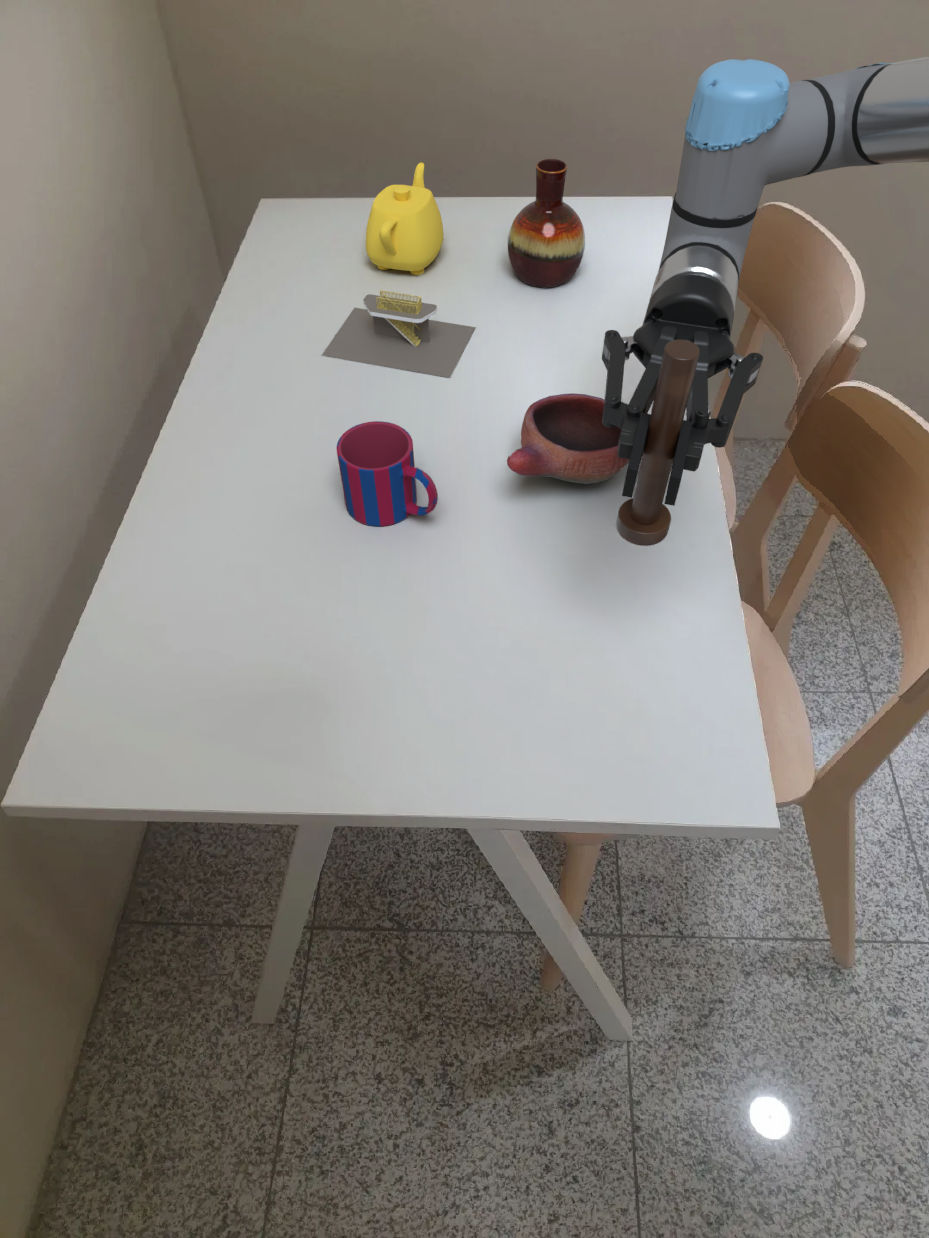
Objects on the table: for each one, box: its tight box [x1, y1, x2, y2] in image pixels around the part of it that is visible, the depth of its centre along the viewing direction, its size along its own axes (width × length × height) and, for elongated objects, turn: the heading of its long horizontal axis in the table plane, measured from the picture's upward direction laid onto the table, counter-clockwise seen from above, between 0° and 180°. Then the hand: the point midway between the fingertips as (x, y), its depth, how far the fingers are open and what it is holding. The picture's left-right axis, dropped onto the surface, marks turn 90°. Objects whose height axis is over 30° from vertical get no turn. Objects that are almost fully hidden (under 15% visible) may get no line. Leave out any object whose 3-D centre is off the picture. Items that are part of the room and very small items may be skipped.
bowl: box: [506, 392, 629, 485], centre depth 94 cm, size 16×13×8 cm
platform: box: [321, 289, 477, 379], centre depth 111 cm, size 12×18×7 cm, turn 73°
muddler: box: [615, 340, 700, 547], centre depth 65 cm, size 4×4×18 cm
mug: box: [336, 420, 439, 527], centre depth 91 cm, size 8×12×8 cm, turn 46°
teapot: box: [365, 162, 445, 276], centre depth 123 cm, size 18×11×11 cm, turn 164°
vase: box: [507, 158, 586, 288], centre depth 118 cm, size 11×11×15 cm
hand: (651, 487), depth 61 cm, fingers closed on muddler, 2 cm apart
